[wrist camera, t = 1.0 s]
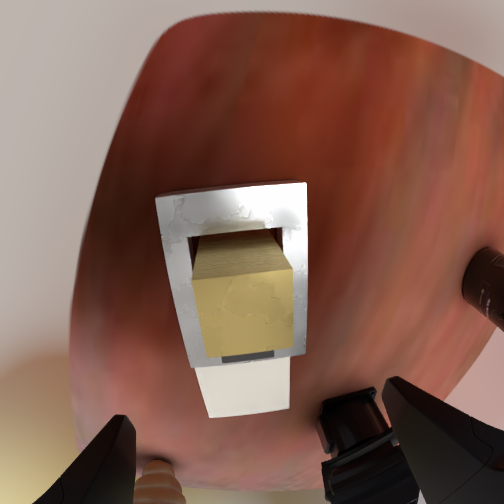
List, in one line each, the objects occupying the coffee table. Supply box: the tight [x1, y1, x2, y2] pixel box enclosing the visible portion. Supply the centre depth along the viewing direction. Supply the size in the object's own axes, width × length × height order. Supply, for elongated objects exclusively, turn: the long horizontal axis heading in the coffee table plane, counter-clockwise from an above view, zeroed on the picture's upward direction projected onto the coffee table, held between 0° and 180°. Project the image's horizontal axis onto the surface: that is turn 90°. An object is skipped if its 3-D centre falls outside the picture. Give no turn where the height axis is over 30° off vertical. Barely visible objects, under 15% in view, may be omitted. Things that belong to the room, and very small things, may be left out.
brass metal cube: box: [191, 228, 293, 358], centre depth 17 cm, size 5×5×7 cm
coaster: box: [195, 357, 290, 418], centre depth 24 cm, size 8×8×1 cm
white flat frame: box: [155, 180, 308, 368], centre depth 19 cm, size 9×13×2 cm
